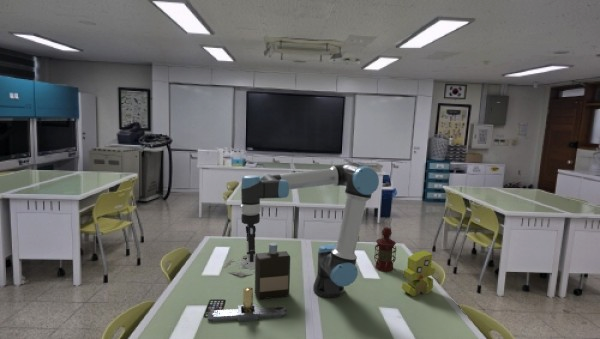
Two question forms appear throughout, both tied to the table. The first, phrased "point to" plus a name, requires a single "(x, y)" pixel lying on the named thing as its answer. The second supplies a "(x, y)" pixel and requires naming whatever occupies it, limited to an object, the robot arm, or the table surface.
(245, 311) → the pin
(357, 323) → the table surface
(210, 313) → the grey metal bar device
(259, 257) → the bottle
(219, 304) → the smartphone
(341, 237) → the robot arm
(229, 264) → the stone slab
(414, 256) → the toy
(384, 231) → the lantern
